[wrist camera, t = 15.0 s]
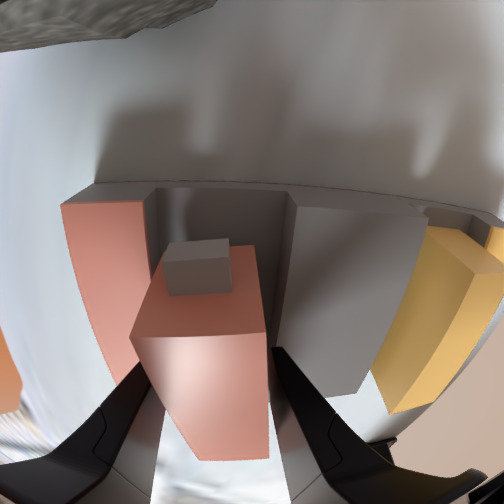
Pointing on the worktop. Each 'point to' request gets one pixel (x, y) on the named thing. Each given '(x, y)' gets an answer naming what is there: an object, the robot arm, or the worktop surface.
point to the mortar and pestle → (85, 19)
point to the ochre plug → (438, 318)
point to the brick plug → (208, 347)
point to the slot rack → (265, 261)
